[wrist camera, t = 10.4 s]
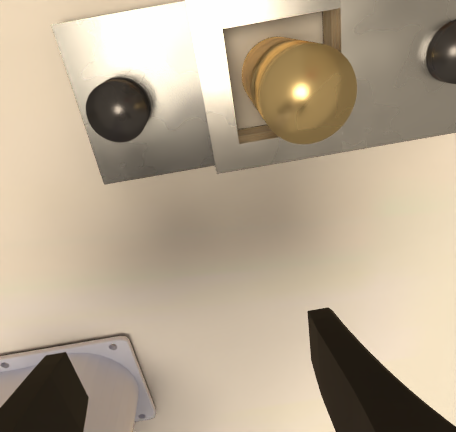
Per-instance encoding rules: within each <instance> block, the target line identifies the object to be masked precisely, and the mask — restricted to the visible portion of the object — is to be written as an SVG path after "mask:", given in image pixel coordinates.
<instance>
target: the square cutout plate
mask: <svg viewBox="0 0 456 432" xmlns="http://www.w3.org/2000/svg"><path fill="white" fill-rule="evenodd" d="M321 11H322V14H323V43H324V44H325V45H328V46H331V47H333V48H335V49H337V50H338V51H339V52H341V53H342V54H343V55H344V56H345V57H346V58H347V59H348V61H349V62H350V64H351V66H352V68H353V70H354V73H355V76H356V81H357V95H356V101H355V104H354V107H353V110H352V112H351V114H350V116H349V117H348V119H347V121H346V122H345V123H344V125H343V126H342V127H341V128H340V129H339V130H338V131H337V132H335V133H334V134H333V135H331V136H330V137H328V138H326V139H324V140H322V141H319V142H316V143H312V144H295V143H291V142H288V141H286V140H284V139H282V138H280V137H279V136H277V135H276V134H275V133H274V132H273V131H272V130H271V129H270V128H269V126H268V125H262V126H256V127H251V128H245V129H239V130H237V125H236V118H235V111H234V105H233V98H232V91H231V84H230V77H229V71H228V64H227V57H226V50H225V43H224V36H223V30H222V29H225V28H231V27H236V26H242V25H248V24H253V23H259V22H265V21H270V20H276V19H281V18H287V17H293V16H298V15H304V14H310V13H315V12H321ZM51 27H52V30H53V33H54V36H55V39H56V42H57V45H58V48H59V51H60V54H61V57H62V60H63V63H64V66H65V69H66V72H67V75H68V78H69V81H70V84H71V87H72V90H73V93H74V96H75V99H76V102H77V104H78V107H79V110H80V113H81V116H82V119H83V122H84V125H85V128H86V131H87V134H88V137H89V140H90V143H91V146H92V149H93V152H94V155H95V158H96V161H97V164H98V167H99V170H100V173H101V176H102V179H103V182H104V184H110V183H116V182H121V181H127V180H133V179H139V178H145V177H150V176H156V175H162V174H168V173H173V172H179V171H185V170H191V169H196V168H202V167H208V166H214V165H216V171H217V174H220V173H225V172H231V171H237V170H243V169H248V168H254V167H260V166H266V165H271V164H277V163H283V162H289V161H295V160H300V159H306V158H312V157H318V156H323V155H329V154H335V153H341V152H346V151H352V150H358V149H364V148H370V147H375V146H381V145H387V144H393V143H398V142H404V141H410V140H416V139H422V138H427V137H433V136H439V135H445V134H450V133H456V0H186V1H181V2H175V3H170V4H164V5H158V6H153V7H147V8H142V9H136V10H130V11H125V12H119V13H113V14H108V15H102V16H97V17H91V18H85V19H80V20H74V21H68V22H63V23H57V24H52V25H51Z"/></svg>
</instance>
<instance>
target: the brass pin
mask: <svg viewBox="0 0 456 432" xmlns="http://www.w3.org/2000/svg"><path fill="white" fill-rule="evenodd" d="M242 83H243V87H244V89H245V92H246V93H247V95H248V97H249V98H250V99H251V101H252V102H253V104H254V105H255V107H256V108H257V110H258V111H259V113H260V114H261V116H262V117H263V119H264V120H265V122H266V123H267V125H268V126H269V128H270V129H271V130H272V131H273V132H274V133H275V134H276V135H277V136H279V137H280V138H282V139H284V140H286V141H288V142H291V143H295V144H312V143H316V142H319V141H322V140H324V139H326V138H328V137H330V136H331V135H333V134H334V133H335V132H337V131H338V130H339V129H340V128H341V127H342V126H343V125H344V123H345V122H346V121H347V119H348V117H349V116H350V114H351V112H352V110H353V107H354V104H355V101H356V95H357V81H356V76H355V73H354V70H353V68H352V66H351V64H350V62H349V61H348V59H347V58H346V57H345V56H344V55H343V54H342V53H341V52H339V51H338V50H337V49H335V48H333V47H331V46H328V45H325V44H320V43H314V42H308V41H302V40H297V39H291V38H285V37H271V38H267V39H265V40H263V41H261V42H259V43H258V44H256V45H255V46H254V47H253V48H252V49H251V50H250V52H249V53H248V55H247V56H246V59H245V61H244V64H243V68H242Z"/></svg>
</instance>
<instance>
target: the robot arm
mask: <svg viewBox="0 0 456 432" xmlns="http://www.w3.org/2000/svg"><path fill="white" fill-rule="evenodd" d="M308 323H309V336H310V349H311V361H312V364H313V368H314V371H315V375H316V379H317V382H318V385H319V389H320V392H321V395H322V398H323V401H324V403H325V406H326V408H327V411H328V413H329V416H330V418H331V421H332V423H333V426H334V428H335V431H336V432H456V427H455V426H454V425H453V424H451V423H450V422H449V421H447V420H446V419H445V418H444V417H442V416H441V415H440V414H439V413H437V412H436V411H435V410H433V409H432V408H431V407H430V406H428V405H427V404H426V403H425V402H424V401H422V400H421V399H420V398H419V397H418V396H416V395H415V394H414V393H413V392H412V391H411V390H409V389H408V388H407V387H406V386H405V385H404V384H403V383H402V382H401V381H399V380H398V379H397V378H396V377H395V376H394V375H393V374H392V373H391V372H390V371H389V370H387V369H386V368H385V367H384V366H383V365H382V364H381V363H380V362H379V361H378V360H377V359H376V358H375V357H374V356H373V355H372V354H371V353H370V352H369V351H368V350H367V349H366V348H365V347H364V346H363V345H362V344H361V343H360V342H359V341H358V339H357V338H356V337H355V336H354V335H353V334H352V333H351V332H350V331H349V330H348V328H347V327H346V326H345V325H344V324H343V323H342V322H341V320H340V319H339V318H338V317H337V316H336V314H335V313H334V312H333V311H332V310H331V309H330V308H323V309H317V310H311V311H308ZM112 344H115V345H112ZM5 362H6V363H5ZM155 415H156V409H155V406H154V403H153V401H152V398H151V396H150V393H149V390H148V388H147V385H146V382H145V380H144V377H143V375H142V372H141V369H140V367H139V364H138V361H137V359H136V356H135V354H134V351H133V348H132V346H131V343H130V340H129V339H128V338H127V337H125V336H116V337H110V338H105V339H99V340H93V341H87V342H81V343H75V344H69V345H63V346H57V347H51V348H46V349H40V350H34V351H28V352H22V353H16V354H10V355H4V356H0V432H133V427H134V422H136V421H142V420H148V419H152V418H154V417H155Z"/></svg>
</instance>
